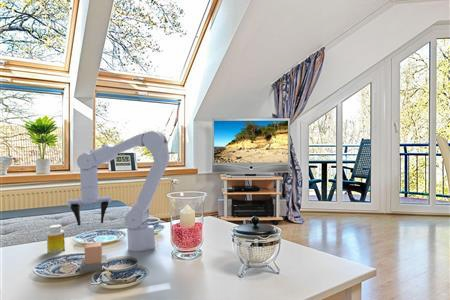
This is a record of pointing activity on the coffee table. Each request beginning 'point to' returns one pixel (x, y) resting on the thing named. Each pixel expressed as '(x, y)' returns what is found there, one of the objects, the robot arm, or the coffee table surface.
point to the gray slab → (93, 265)
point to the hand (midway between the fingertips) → (90, 223)
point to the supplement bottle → (55, 239)
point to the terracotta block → (93, 252)
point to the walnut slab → (87, 272)
